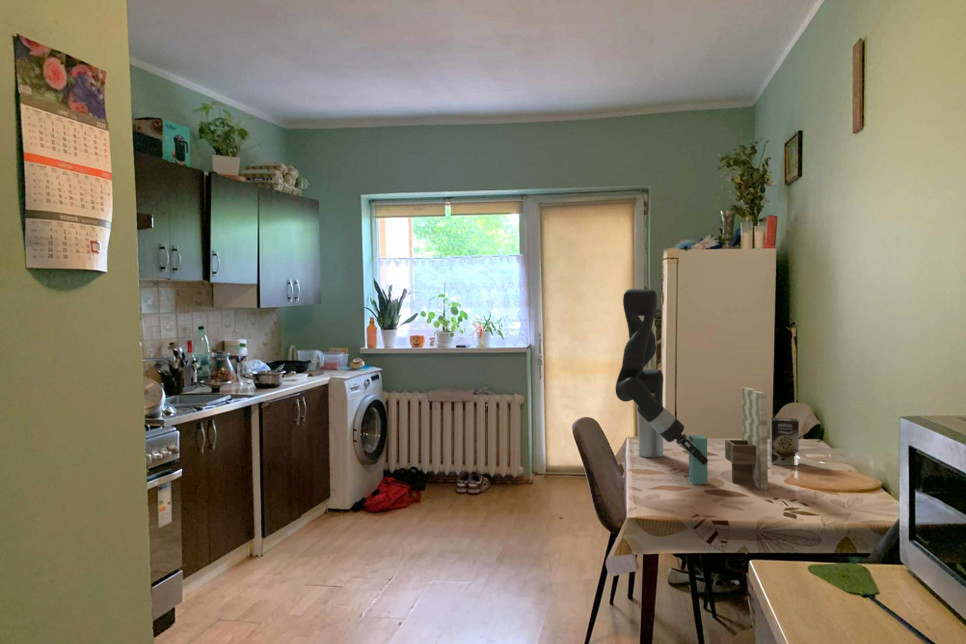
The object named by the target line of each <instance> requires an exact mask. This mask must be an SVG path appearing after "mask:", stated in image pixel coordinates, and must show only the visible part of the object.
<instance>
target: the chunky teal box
mask: <svg viewBox="0 0 966 644" xmlns="http://www.w3.org/2000/svg"><path fill="white" fill-rule="evenodd" d="M688 437H689V439H690V440H691V441H692V442H693V443H694V444H695V447H696V448H697V449H698V450H700V453H701V454H703V455H704V456H705V457H706V458H707V459H708V437H706V436H705V435H703V434H695V435H693V434H689V435H688ZM696 451H697V450H696V449H694V450H693V451H692V453H694V452H696ZM688 476H689V477H688V478H689V479H688V480H689V483H691V485H693V486H696V485H697V484H700V485H701V484H708V483H709V482H708V462H707V463H706V464H705V465H703V464H702V463H701V462H700V461H699V460H698V459H697V458H696V457H694V456H693V455H692V454H691V453H688ZM700 485H699V486H700ZM697 486H698V485H697ZM701 486H702V485H701Z"/></svg>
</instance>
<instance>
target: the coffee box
mask: <svg viewBox="0 0 966 644" xmlns="http://www.w3.org/2000/svg"><path fill="white" fill-rule="evenodd" d="M769 419H770V424H769V425H770V426H769V428H770V429H769V431H770V435H769V436H770V437H769V438H770V439H769V441H770V443H769V447H770V448H769V459H770V464H771V465H774V464H777V466H790V465H793V466H794V456H795V454H796V453H797V452H799V451H800V449H799V448H800V447H799V442H800V441H799V438H800V437H799V435H800V434H799V433H800V431H799V430H800V429H799V427H800V425H799V422H800V421H799V420H798V419H797V418H787V417H784V418H783V417H782V418H780V417H770V418H769ZM799 453H800V452H799ZM794 467H795V466H794Z"/></svg>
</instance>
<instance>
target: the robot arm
mask: <svg viewBox="0 0 966 644" xmlns="http://www.w3.org/2000/svg"><path fill="white" fill-rule="evenodd" d="M622 297H623V298H622V305H623V311H624V315H625V319H626V324H627V330H628V339H629V340H628V341H627V342H626V343H625V347H624V350H623V356H622V357H623V358H622V362H621V363H622V364H621V368H620V371H619V373H618V376H617V380H616V383H615V395H616V397H617V398H618V399H619V400H620V401H622V402H624V403H625V402H630V401H633V402H634V403H636V405H637V412H638V415H637V416H638V418H637V419H638V421H637V422H638V455H639V456H641V457H644V458H660V457H664V440H665V441H666V442H667V443H672V442H674V441H675V443H676V444H677V445H678V446H679V447H681V448H682V449H683V450H685V451H686V453H688V454H689V453H691V454H692V455H693V456H694V457H696V458H697V459H698V460H699V461H700V462H701V463H702V464H703V465H705V464H706V463H707V464H708V463H709V459H708V457H707V458H706V457H705V456H704V455H703V454H701V453H700V450H698V449H697V448H696V447H695V444H694V443H693V442H692V441H691V440H690V439H689V436H688V435H687V434H685V433H683V434H682V432H684V430H685V425H684V424H683V423H682V422H681V421H680V420H679V419H678V418H676V417H675V415H673V414H672V413H671V411H670V410H668V409H666V408H665V407H664V406H663V401H664V400H663V393H664V392H663V391H664V374H663V371H662V370H661V369H657V368H656V369H653V368H652V369H651V368H650V369H648V368H647V369H644V368H645V366H646V365H648V363H649V362H650V361H651V360H652V359H653V358H654V356H655V354H656V353H657V343H656V342H657V341H656V336H655V333H654V332H653V331H652V329H653V328H652V327H653V323H654V321H655V315H656V313H657V307H658V296H657V292H656V290H654V289H648V288H646V289H645V288H644V289H643V288H629V289H628V288H627V289H626V290H625V291H624V294H623V296H622ZM640 317H643V320H642V319H641V318H640ZM653 394H654V395H653ZM694 449H696V450H697V451H696V452H694V453H692V451H693V450H694Z"/></svg>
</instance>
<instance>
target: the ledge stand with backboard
mask: <svg viewBox="0 0 966 644" xmlns="http://www.w3.org/2000/svg"><path fill="white" fill-rule="evenodd" d="M741 414H742V415H741V418H742V419H741V420H742V421H741V423H742V424H741V425H742V428H741V429H742V431H741V433H742V434H741V435H742V439H725V440H724V450H725V451H724V454H725V455H724V457H725V459H726V460H727V461H728V462H730V463H731V482H732V483H733V484H753V485H754V486H755V485H756V486H755V487H757V489H759V490H760V491H768V490H769V488H768V487H769V484H768V483H769V482H768V481H769V480H768V479H769V478H768V474H769V473H768V472H769V471H768V465H769V464H768V394H767V393H765V392H763V391H759V390H758V389H755V388H751V387H750V386H742V387H741Z"/></svg>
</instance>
